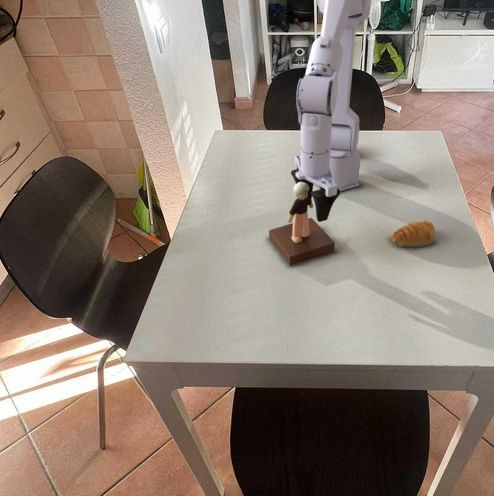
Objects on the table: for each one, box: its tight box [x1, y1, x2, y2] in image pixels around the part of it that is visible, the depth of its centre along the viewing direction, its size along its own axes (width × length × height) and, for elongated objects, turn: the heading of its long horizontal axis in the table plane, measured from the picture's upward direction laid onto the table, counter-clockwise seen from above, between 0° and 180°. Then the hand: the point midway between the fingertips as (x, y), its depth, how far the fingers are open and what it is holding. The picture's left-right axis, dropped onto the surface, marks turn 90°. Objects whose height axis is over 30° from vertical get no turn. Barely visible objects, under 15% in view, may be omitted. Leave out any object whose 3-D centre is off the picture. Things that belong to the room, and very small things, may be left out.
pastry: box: [391, 219, 437, 248], centre depth 96 cm, size 9×7×4 cm
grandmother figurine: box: [286, 182, 314, 243], centre depth 90 cm, size 8×4×13 cm, turn 149°
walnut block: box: [268, 217, 336, 267], centre depth 96 cm, size 11×11×2 cm
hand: (313, 211), depth 92 cm, fingers open, 7 cm apart
